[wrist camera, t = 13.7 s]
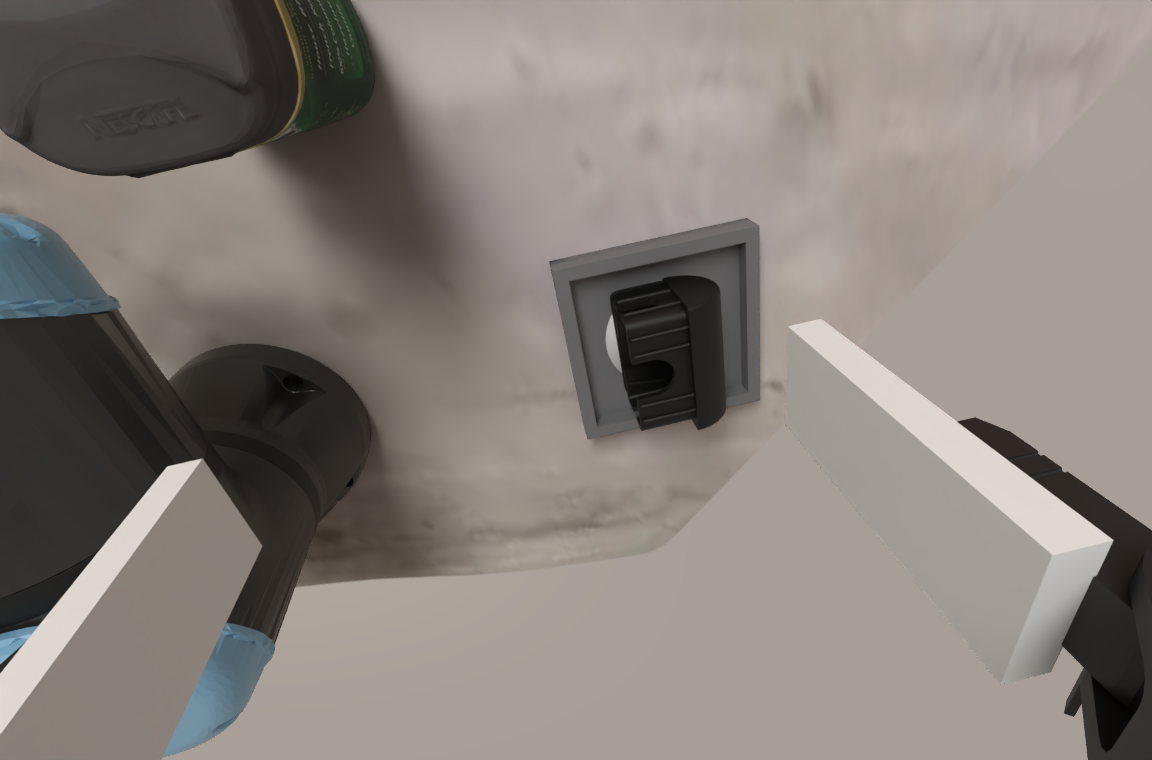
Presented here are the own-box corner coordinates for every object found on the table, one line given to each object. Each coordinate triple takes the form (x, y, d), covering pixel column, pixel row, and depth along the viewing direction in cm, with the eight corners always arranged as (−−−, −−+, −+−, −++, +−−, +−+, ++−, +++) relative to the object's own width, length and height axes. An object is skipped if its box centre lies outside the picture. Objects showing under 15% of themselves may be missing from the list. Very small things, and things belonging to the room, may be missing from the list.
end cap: (707, 377, 46) (739, 422, 40) (625, 396, 46) (645, 444, 40) (699, 264, 41) (734, 297, 35) (607, 286, 41) (627, 322, 35)
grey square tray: (583, 424, 48) (587, 439, 46) (549, 261, 40) (552, 270, 38) (749, 386, 48) (759, 400, 46) (746, 218, 40) (759, 225, 39)
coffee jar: (339, -50, 30) (167, -185, 14) (393, 108, 34) (307, 144, 18) (165, -10, 30) (-212, -99, 14) (240, 144, 34) (16, 214, 18)
